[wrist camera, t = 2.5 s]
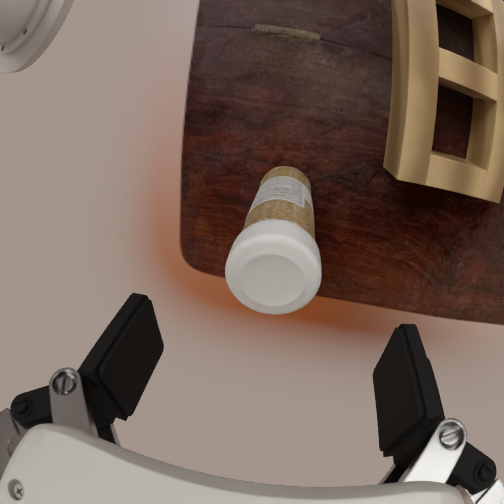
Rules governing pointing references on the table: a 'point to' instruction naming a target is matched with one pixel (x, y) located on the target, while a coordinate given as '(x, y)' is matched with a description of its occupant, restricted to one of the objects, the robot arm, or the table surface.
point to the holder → (453, 77)
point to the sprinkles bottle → (277, 247)
